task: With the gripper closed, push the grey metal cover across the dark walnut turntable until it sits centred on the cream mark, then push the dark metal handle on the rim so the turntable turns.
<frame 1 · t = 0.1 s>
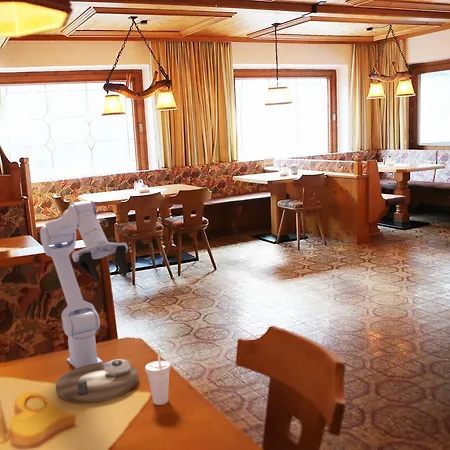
hand: (111, 276, 150), 32 cm above the table, tool tilted 50°, fingers open, 7 cm apart
cover: (117, 372, 165), point 2 cm above the table, touching turntable
smoothie: (160, 402, 150), on the table
turntable: (97, 375, 161), point 3 cm above the table, hinge at 0.0°, touching cover
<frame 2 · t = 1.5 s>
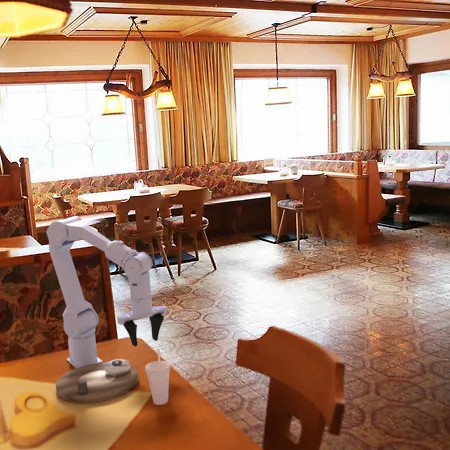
hand: (145, 342, 168), 8 cm above the table, tool pointing down, fingers open, 6 cm apart
nothing on the table moved.
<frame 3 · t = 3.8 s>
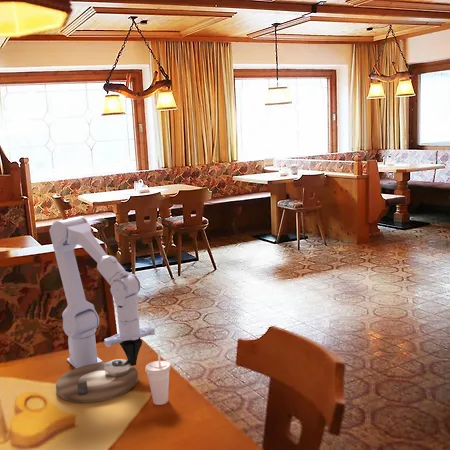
hand: (132, 364, 167), 3 cm above the table, tool pointing down, fingers closed
cover: (117, 372, 165), point 2 cm above the table, touching gripper, turntable
everything else where it was.
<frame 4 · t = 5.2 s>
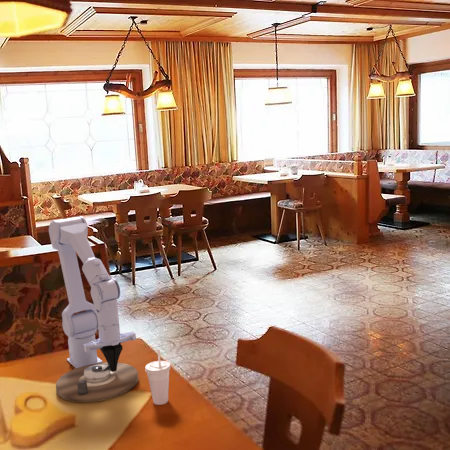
hand: (113, 370, 164), 3 cm above the table, tool pointing down, fingers closed
cover: (97, 377, 162), point 2 cm above the table, touching gripper, turntable
everything else where it was.
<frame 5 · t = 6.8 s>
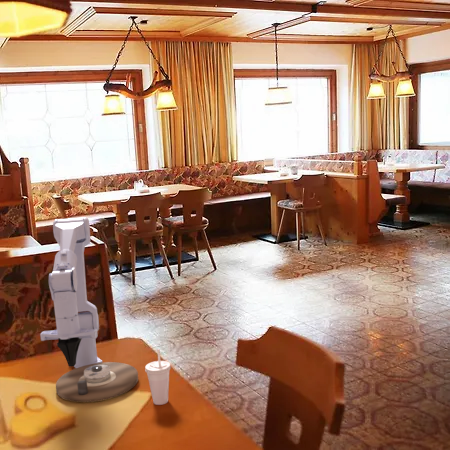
hand: (72, 364, 155), 8 cm above the table, tool pointing down, fingers closed
cover: (97, 378, 162), point 2 cm above the table, touching turntable
everything else where it was.
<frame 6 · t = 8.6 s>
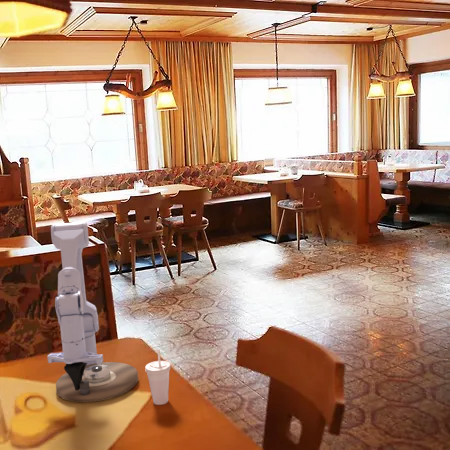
hand: (78, 388, 153), 3 cm above the table, tool pointing down, fingers closed
turntable: (97, 375, 161), point 3 cm above the table, hinge at 4.1°, touching cover, gripper
everything else where it was.
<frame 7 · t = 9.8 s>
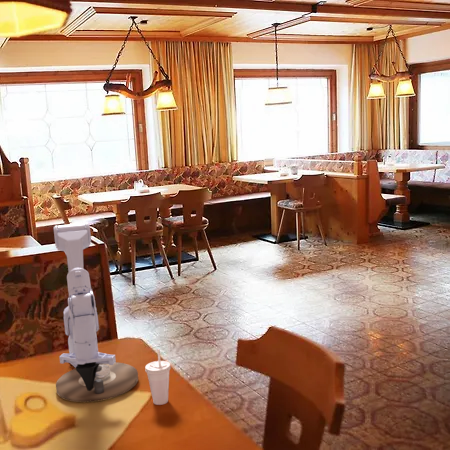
hand: (90, 389, 153), 3 cm above the table, tool pointing down, fingers closed
turntable: (97, 375, 161), point 3 cm above the table, hinge at 27.3°, touching cover, gripper
everything else where it was.
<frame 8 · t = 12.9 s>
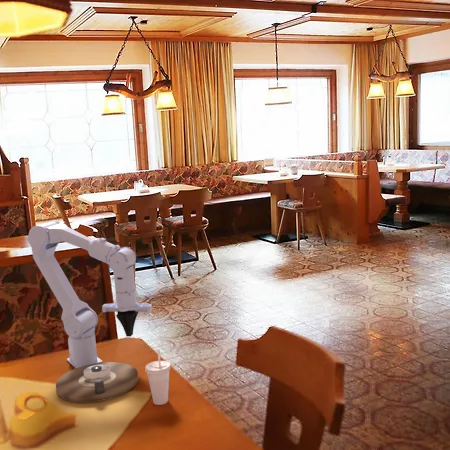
hand: (129, 335, 172), 9 cm above the table, tool pointing down, fingers closed
turntable: (97, 375, 161), point 3 cm above the table, hinge at 28.0°, touching cover
everything else where it was.
at the end: cover 0.2 cm from the turntable (horizontally); turntable at +28° (first picture: +0°); cover touching turntable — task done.
